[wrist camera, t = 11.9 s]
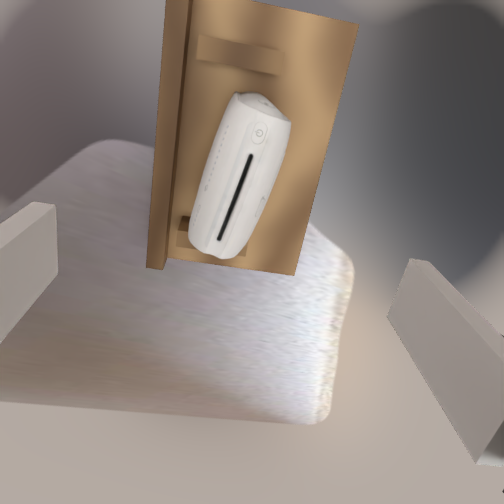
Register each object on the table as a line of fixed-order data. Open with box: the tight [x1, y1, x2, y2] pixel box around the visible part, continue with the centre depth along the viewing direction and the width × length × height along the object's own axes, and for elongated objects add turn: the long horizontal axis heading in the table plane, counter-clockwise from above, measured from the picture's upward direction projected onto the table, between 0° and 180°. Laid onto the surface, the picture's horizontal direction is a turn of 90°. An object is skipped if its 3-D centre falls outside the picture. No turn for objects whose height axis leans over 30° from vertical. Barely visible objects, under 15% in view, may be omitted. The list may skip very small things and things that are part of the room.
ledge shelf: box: [146, 0, 359, 276], centre depth 33 cm, size 14×22×5 cm, turn 170°
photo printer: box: [188, 91, 291, 259], centre depth 28 cm, size 10×4×12 cm, turn 159°
